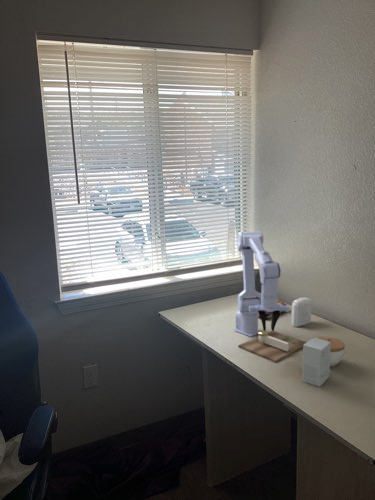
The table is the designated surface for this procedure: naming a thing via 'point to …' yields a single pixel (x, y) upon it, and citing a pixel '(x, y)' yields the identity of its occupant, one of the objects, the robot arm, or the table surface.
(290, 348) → the board
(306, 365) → the small box
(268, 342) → the peg lever
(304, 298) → the photo printer
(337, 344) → the lidded jar
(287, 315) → the table surface
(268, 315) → the pencil case
